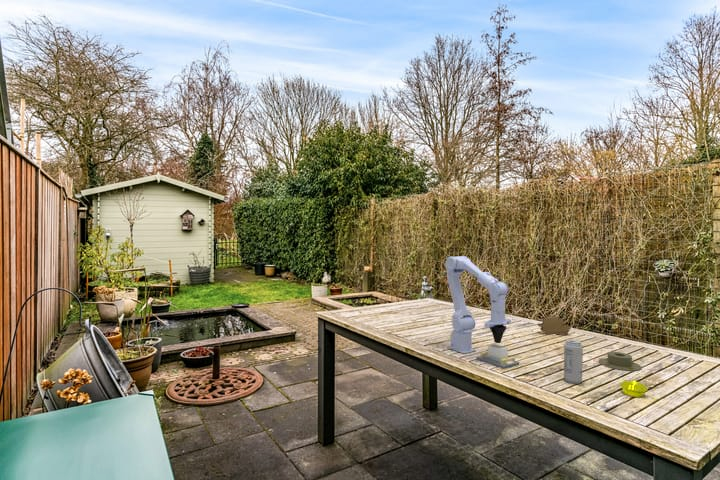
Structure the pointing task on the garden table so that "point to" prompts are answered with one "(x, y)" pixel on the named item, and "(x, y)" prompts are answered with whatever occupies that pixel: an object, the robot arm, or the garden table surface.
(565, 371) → the energy drink can
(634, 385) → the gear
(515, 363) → the rail base
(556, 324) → the wooden carving
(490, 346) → the block
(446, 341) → the garden table surface
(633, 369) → the flange
